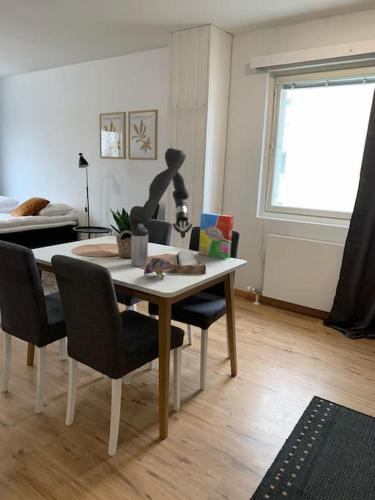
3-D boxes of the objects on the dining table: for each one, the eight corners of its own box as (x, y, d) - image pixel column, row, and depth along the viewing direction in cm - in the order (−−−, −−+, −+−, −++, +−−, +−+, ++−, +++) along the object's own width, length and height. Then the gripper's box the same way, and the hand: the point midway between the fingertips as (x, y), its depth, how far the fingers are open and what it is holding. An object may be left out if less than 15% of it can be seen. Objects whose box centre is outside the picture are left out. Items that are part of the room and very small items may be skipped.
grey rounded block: (184, 269, 206) (179, 252, 205) (177, 270, 208) (172, 253, 208) (198, 263, 220) (193, 247, 219) (191, 264, 222) (187, 248, 222)
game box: (198, 254, 243) (200, 213, 237) (202, 252, 248) (204, 212, 242) (227, 259, 233) (230, 216, 227) (230, 257, 238) (233, 215, 232)
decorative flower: (164, 254, 196) (169, 252, 182) (171, 275, 196) (177, 275, 182) (138, 263, 193) (141, 261, 178) (145, 284, 193) (149, 284, 178)
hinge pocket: (174, 273, 197) (174, 265, 196) (173, 269, 204) (173, 261, 203) (205, 273, 199) (206, 265, 198) (203, 270, 206) (204, 262, 205)
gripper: (171, 210, 231) (172, 233, 222) (192, 211, 233) (194, 234, 224) (171, 218, 238) (171, 240, 228) (191, 218, 239) (193, 240, 230)
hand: (183, 237), depth 226 cm, fingers closed
